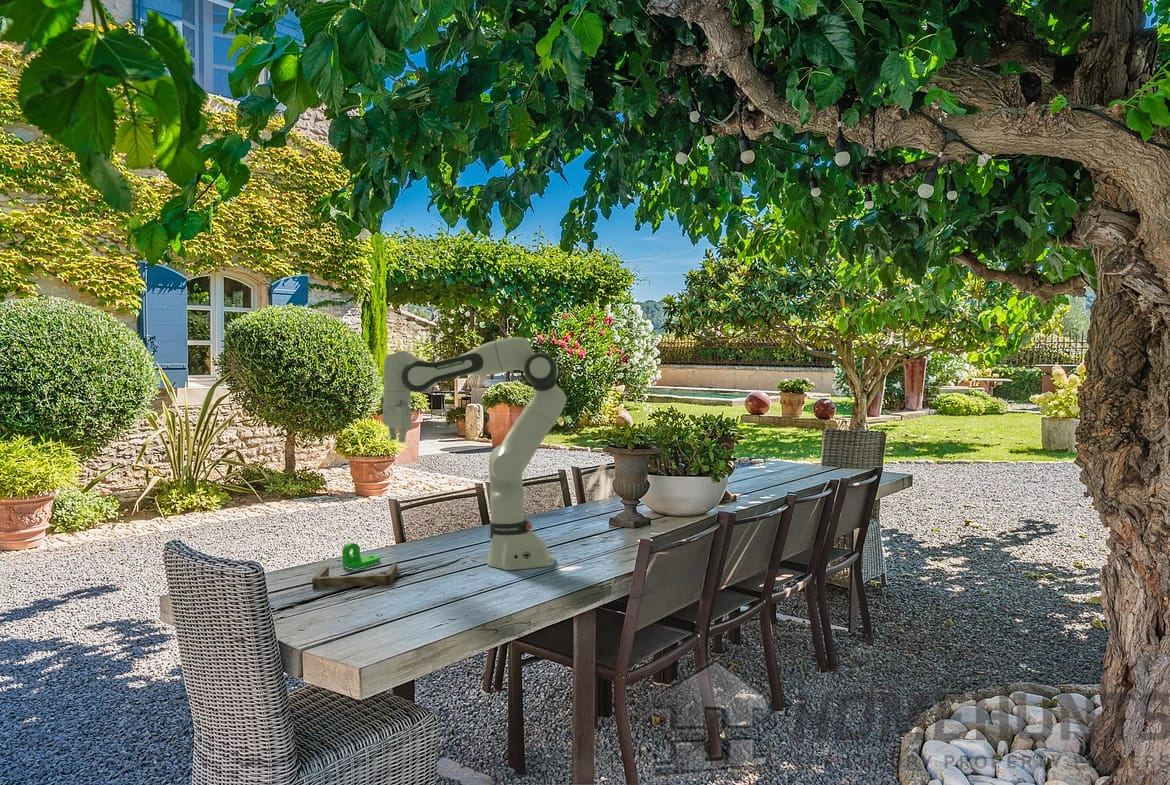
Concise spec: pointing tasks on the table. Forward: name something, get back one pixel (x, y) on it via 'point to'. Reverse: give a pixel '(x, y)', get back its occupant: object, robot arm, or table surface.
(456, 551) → the table surface
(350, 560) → the mechanical part
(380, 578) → the walnut bay
